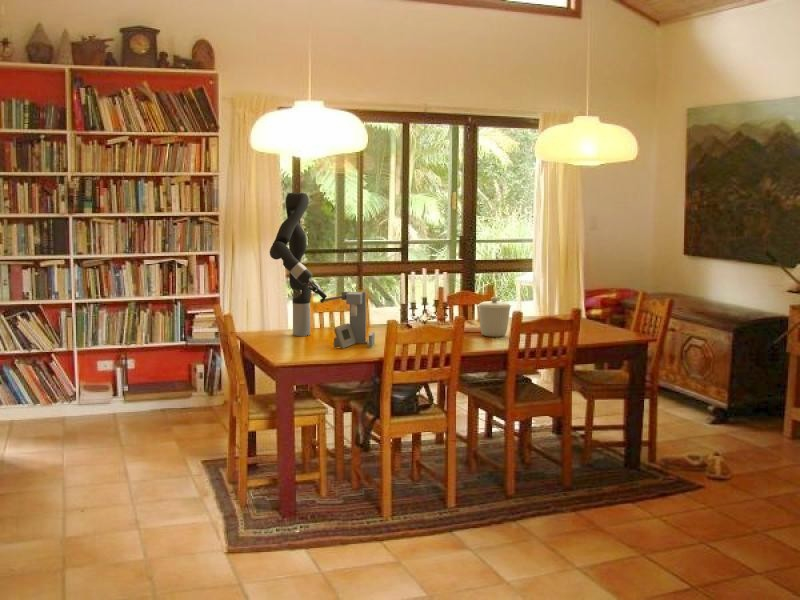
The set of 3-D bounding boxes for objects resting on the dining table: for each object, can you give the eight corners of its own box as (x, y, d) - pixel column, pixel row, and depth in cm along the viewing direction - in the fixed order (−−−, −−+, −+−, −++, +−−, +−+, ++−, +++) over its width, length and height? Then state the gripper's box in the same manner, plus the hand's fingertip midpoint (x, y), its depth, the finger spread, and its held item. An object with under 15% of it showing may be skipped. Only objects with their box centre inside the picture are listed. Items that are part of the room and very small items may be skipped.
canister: (499, 339, 452) (500, 299, 449) (470, 335, 462) (470, 296, 460) (516, 335, 466) (517, 296, 463) (488, 331, 477) (488, 293, 474)
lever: (321, 302, 436) (320, 298, 436) (347, 297, 435) (346, 293, 434) (320, 303, 434) (319, 298, 434) (347, 298, 432) (346, 293, 432)
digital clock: (342, 349, 419) (342, 328, 418) (327, 348, 424) (327, 326, 422) (361, 345, 433) (361, 324, 432) (346, 343, 438) (346, 322, 436)
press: (342, 342, 440) (342, 291, 436) (375, 343, 438) (375, 292, 435) (337, 347, 426) (337, 294, 423) (371, 347, 425) (372, 295, 422)
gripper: (303, 269, 427) (328, 294, 427) (308, 267, 440) (333, 291, 440) (293, 280, 428) (318, 304, 428) (298, 277, 441) (322, 301, 441)
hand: (325, 297), depth 434 cm, fingers closed
